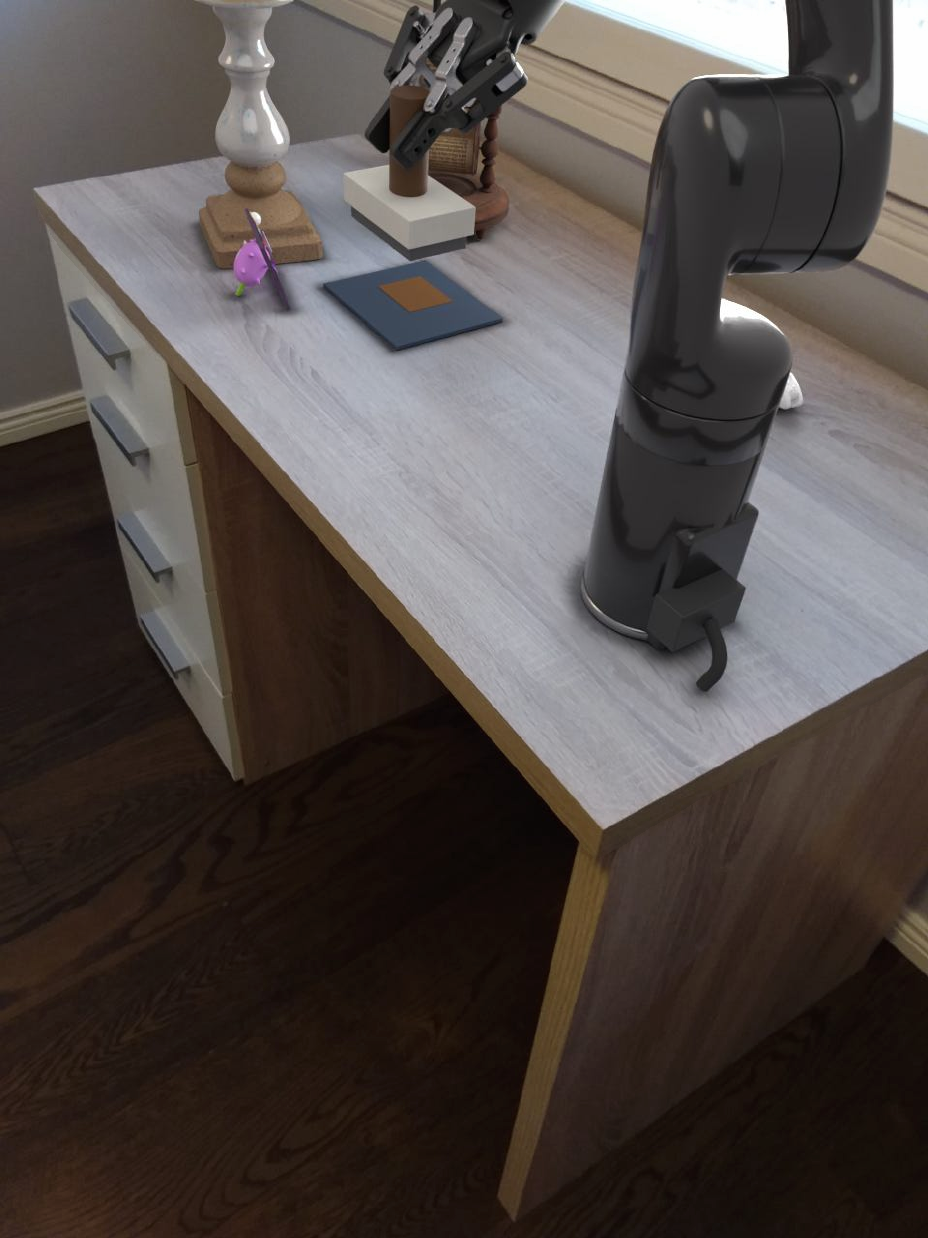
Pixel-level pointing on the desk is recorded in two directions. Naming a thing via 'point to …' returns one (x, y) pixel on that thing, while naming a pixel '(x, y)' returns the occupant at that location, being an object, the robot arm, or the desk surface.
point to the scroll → (470, 168)
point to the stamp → (408, 195)
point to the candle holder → (253, 149)
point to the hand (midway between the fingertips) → (386, 152)
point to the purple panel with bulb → (255, 260)
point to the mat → (412, 304)
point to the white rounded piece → (791, 394)
